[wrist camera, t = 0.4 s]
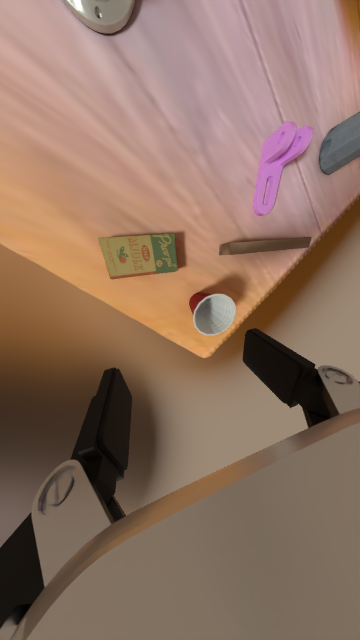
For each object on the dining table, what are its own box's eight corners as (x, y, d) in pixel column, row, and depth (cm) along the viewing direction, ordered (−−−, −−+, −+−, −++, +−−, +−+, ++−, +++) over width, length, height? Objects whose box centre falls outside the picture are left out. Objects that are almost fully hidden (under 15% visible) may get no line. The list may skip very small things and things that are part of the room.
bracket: (262, 143, 30) (293, 114, 24) (282, 147, 31) (316, 120, 25) (250, 215, 35) (273, 206, 29) (267, 216, 37) (292, 207, 30)
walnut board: (219, 245, 36) (233, 242, 31) (289, 239, 41) (311, 236, 36) (219, 255, 37) (232, 254, 32) (287, 248, 42) (308, 247, 37)
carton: (102, 239, 30) (96, 236, 26) (171, 234, 33) (175, 231, 29) (113, 277, 33) (110, 280, 29) (175, 270, 36) (179, 271, 33)
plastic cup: (178, 287, 38) (193, 298, 28) (213, 282, 40) (238, 290, 30) (182, 320, 43) (195, 340, 32) (212, 314, 45) (234, 331, 35)
